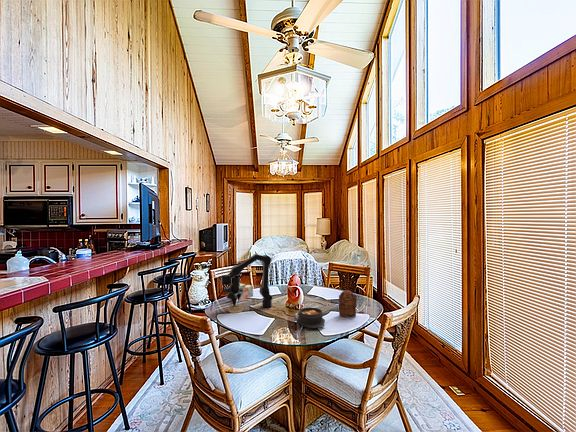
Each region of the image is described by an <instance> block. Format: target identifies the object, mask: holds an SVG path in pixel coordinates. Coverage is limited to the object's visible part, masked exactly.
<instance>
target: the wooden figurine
mask: <svg viewBox="0 0 576 432" xmlns="http://www.w3.org/2000/svg"><path fill="white" fill-rule="evenodd" d="M338 303H339V304H338V312H339V313H338V314H339V316H340V317H342V318H345V319H347V318H353V317H354V318H355V317H356V316H357V310H356V309H357V295H356V294H354V293H353V292H352V291H351V290H349V289H345V290H343V291H341V292H340V294H339V295H338Z"/></svg>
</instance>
